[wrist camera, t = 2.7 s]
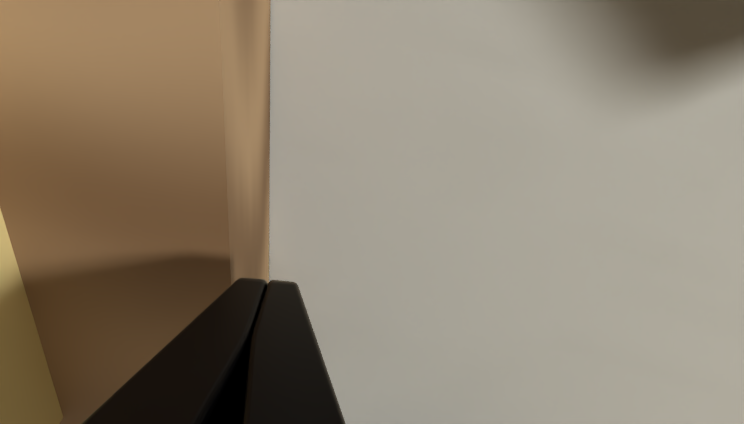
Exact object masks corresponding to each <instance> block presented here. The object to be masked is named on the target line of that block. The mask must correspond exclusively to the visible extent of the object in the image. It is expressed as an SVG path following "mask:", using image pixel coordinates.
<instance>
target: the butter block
mask: <svg viewBox="0 0 744 424" xmlns="http://www.w3.org/2000/svg"><path fill="white" fill-rule="evenodd" d="M62 418H63V414H62V411H61V408H60V404H59V401H58V398H57V394H56V391H55V388H54V385H53V381H52V378H51V375H50V371H49V368H48V365H47V361H46V358H45V355H44V351H43V348H42V345H41V341H40V338H39V335H38V331H37V328H36V325H35V321H34V318H33V315H32V312H31V308H30V305H29V302H28V298H27V295H26V292H25V288H24V285H23V282H22V278H21V275H20V272H19V268H18V265H17V262H16V258H15V255H14V252H13V248H12V245H11V242H10V238H9V235H8V232H7V229H6V225H5V222H4V219H3V215H2V212H1V209H0V424H60V422H61V420H62Z"/></svg>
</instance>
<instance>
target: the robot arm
mask: <svg viewBox="0 0 744 424" xmlns="http://www.w3.org/2000/svg"><path fill="white" fill-rule="evenodd" d="M81 424H345V421H344V418H343V415H342V412H341V409H340V407H339V404H338V401H337V398H336V395H335V392H334V389H333V386H332V383H331V380H330V377H329V375H328V372H327V369H326V366H325V363H324V360H323V357H322V354H321V351H320V348H319V346H318V343H317V340H316V337H315V334H314V331H313V328H312V325H311V322H310V319H309V316H308V314H307V311H306V308H305V305H304V302H303V299H302V296H301V293H300V290H299V287H298V285H297V284H296V283H295V282H289V281H278V280H272V281H270V282H269V283H267V281H266V280H264V279H255V278H239V279H237V280H236V281H235V282H234V283H233V284H232V285H231V286H230V287H228V288H227V289H226V290H225V291H224V292H223V293H222V294H221V295H220V296H219V297H218V298H217V299H215V300H214V301H213V302H212V303H211V304H210V305H209V306H208V307H207V308H206V309H205V310H204V311H203V312H201V313H200V314H199V315H198V316H197V317H196V318H195V319H194V320H193V321H192V322H191V323H190V324H188V325H187V326H186V327H185V328H184V329H183V330H182V331H181V332H180V333H179V334H178V335H177V336H175V337H174V338H173V339H172V340H171V341H170V342H169V343H168V344H167V345H166V346H165V347H164V348H162V349H161V350H160V351H159V352H158V353H157V354H156V355H155V356H154V357H153V358H152V359H151V360H149V361H148V362H147V363H146V364H145V365H144V366H143V367H142V368H141V369H140V370H139V371H138V372H137V373H135V374H134V375H133V376H132V377H131V378H130V379H129V380H128V381H127V382H126V383H125V384H124V385H122V386H121V387H120V388H119V389H118V390H117V391H116V392H115V393H114V394H113V395H112V396H111V397H109V398H108V399H107V400H106V401H105V402H104V403H103V404H102V405H101V406H100V407H99V408H98V409H96V410H95V411H94V412H93V413H92V414H91V415H90V416H89V417H88V418H87V419H86V420H85V421H83V422H82V423H81Z"/></svg>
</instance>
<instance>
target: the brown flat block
mask: <svg viewBox="0 0 744 424" xmlns="http://www.w3.org/2000/svg"><path fill="white" fill-rule="evenodd" d="M269 151H270V0H0V209H1V212H2V215H3V219H4V222H5V225H6V229H7V232H8V235H9V238H10V242H11V245H12V248H13V252H14V255H15V258H16V262H17V265H18V268H19V272H20V275H21V278H22V282H23V285H24V288H25V292H26V295H27V298H28V302H29V305H30V308H31V312H32V315H33V318H34V321H35V325H36V328H37V331H38V335H39V338H40V341H41V345H42V348H43V351H44V355H45V358H46V361H47V365H48V368H49V371H50V375H51V378H52V381H53V385H54V388H55V391H56V394H57V398H58V401H59V404H60V408H61V411H62V414H63V418H62V420H61V422H60V424H81V423H82V422H83V421H85V420H86V419H87V418H88V417H89V416H90V415H91V414H92V413H93V412H94V411H95V410H96V409H98V408H99V407H100V406H101V405H102V404H103V403H104V402H105V401H106V400H107V399H108V398H109V397H111V396H112V395H113V394H114V393H115V392H116V391H117V390H118V389H119V388H120V387H121V386H122V385H124V384H125V383H126V382H127V381H128V380H129V379H130V378H131V377H132V376H133V375H134V374H135V373H137V372H138V371H139V370H140V369H141V368H142V367H143V366H144V365H145V364H146V363H147V362H148V361H149V360H151V359H152V358H153V357H154V356H155V355H156V354H157V353H158V352H159V351H160V350H161V349H162V348H164V347H165V346H166V345H167V344H168V343H169V342H170V341H171V340H172V339H173V338H174V337H175V336H177V335H178V334H179V333H180V332H181V331H182V330H183V329H184V328H185V327H186V326H187V325H188V324H190V323H191V322H192V321H193V320H194V319H195V318H196V317H197V316H198V315H199V314H200V313H201V312H203V311H204V310H205V309H206V308H207V307H208V306H209V305H210V304H211V303H212V302H213V301H214V300H215V299H217V298H218V297H219V296H220V295H221V294H222V293H223V292H224V291H225V290H226V289H227V288H228V287H230V286H231V285H232V284H233V283H234V282H235V281H236V280H237V279H239V278H255V279H264V280H266V281H267V283H269Z"/></svg>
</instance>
